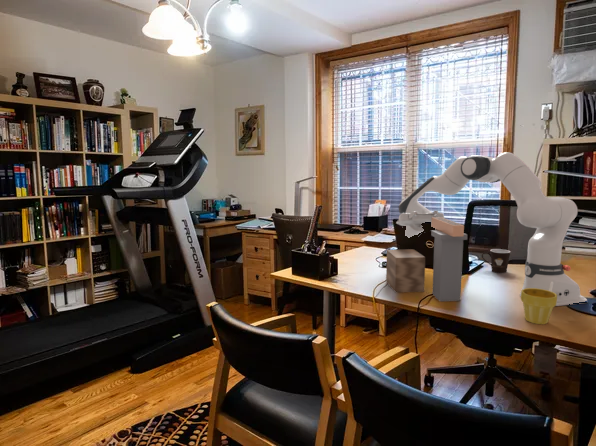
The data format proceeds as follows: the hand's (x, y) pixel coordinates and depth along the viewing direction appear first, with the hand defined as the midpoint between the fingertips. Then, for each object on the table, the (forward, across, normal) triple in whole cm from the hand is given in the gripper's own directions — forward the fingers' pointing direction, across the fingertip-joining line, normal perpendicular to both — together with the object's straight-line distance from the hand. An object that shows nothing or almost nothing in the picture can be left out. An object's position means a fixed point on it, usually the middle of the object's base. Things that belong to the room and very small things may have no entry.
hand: (426, 212), depth 185 cm
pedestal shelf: (+8, 0, +39) cm, 40 cm away
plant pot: (+29, +21, +52) cm, 63 cm away
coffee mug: (-25, +39, +21) cm, 51 cm away
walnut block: (-6, -12, +32) cm, 34 cm away
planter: (+18, 0, +16) cm, 24 cm away
